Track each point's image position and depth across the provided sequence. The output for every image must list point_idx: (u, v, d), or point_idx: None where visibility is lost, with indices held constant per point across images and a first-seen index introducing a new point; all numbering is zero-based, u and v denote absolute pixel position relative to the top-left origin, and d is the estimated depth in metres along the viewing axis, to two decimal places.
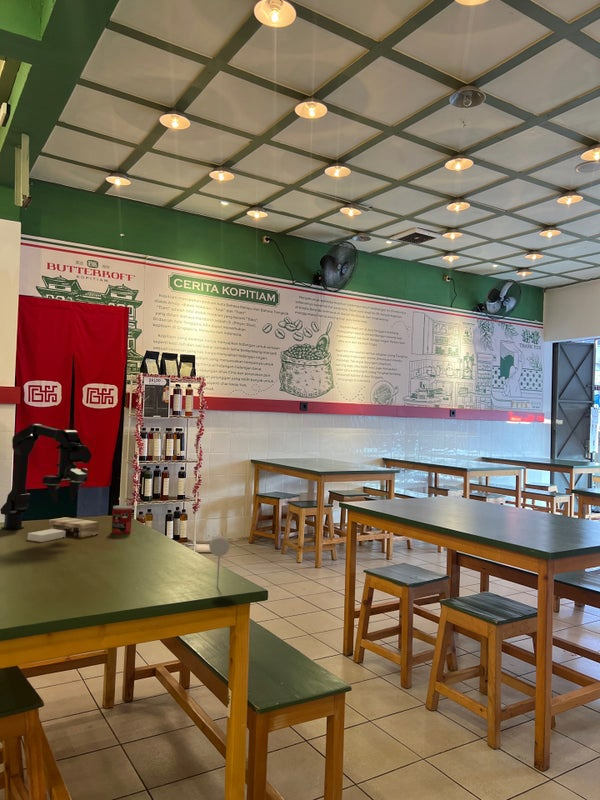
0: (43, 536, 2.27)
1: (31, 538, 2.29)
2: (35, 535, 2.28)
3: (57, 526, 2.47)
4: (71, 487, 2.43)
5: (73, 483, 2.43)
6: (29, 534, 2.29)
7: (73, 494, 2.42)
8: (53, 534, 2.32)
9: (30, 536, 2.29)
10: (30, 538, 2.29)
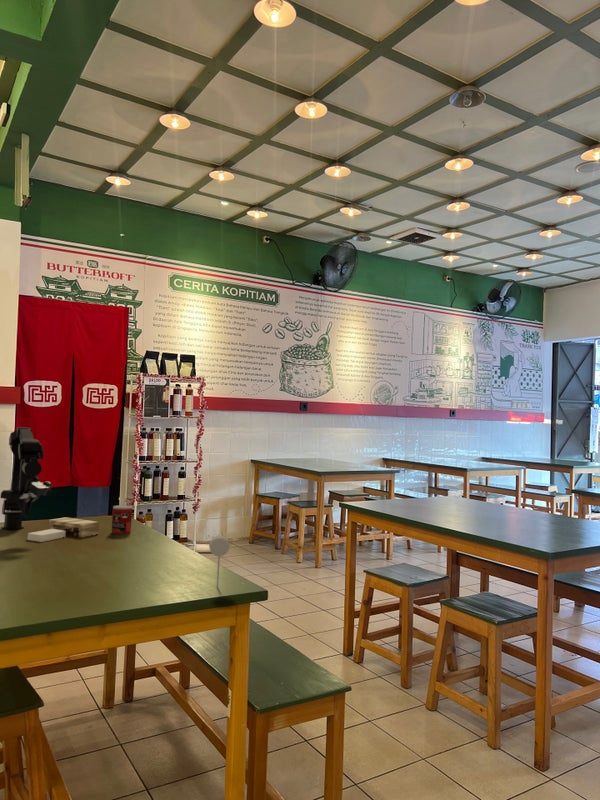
0: (43, 536, 2.27)
1: (31, 538, 2.29)
2: (35, 535, 2.28)
3: (57, 526, 2.47)
4: None
5: None
6: (29, 534, 2.29)
7: None
8: (53, 534, 2.32)
9: (30, 536, 2.29)
10: (30, 538, 2.29)
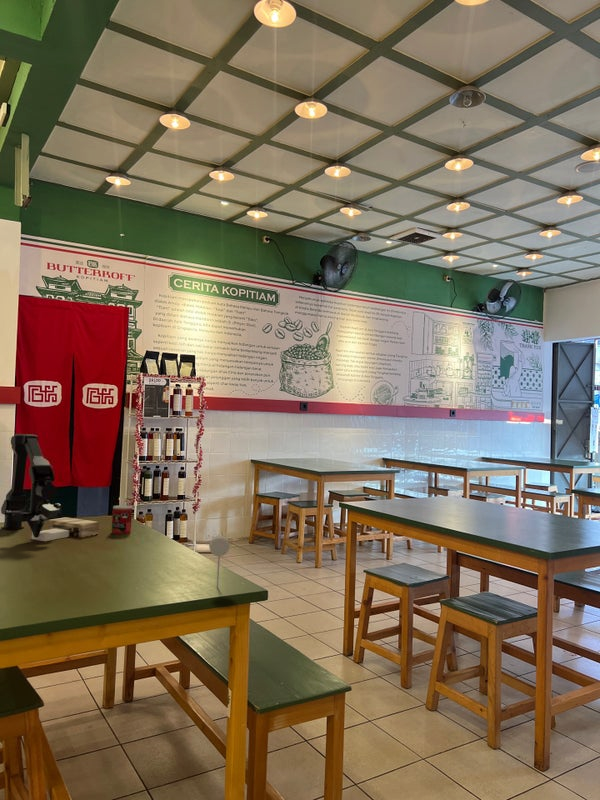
0: (47, 535, 2.29)
1: None
2: (39, 534, 2.29)
3: (57, 526, 2.47)
4: None
5: None
6: None
7: None
8: (57, 533, 2.33)
9: None
10: (34, 537, 2.30)
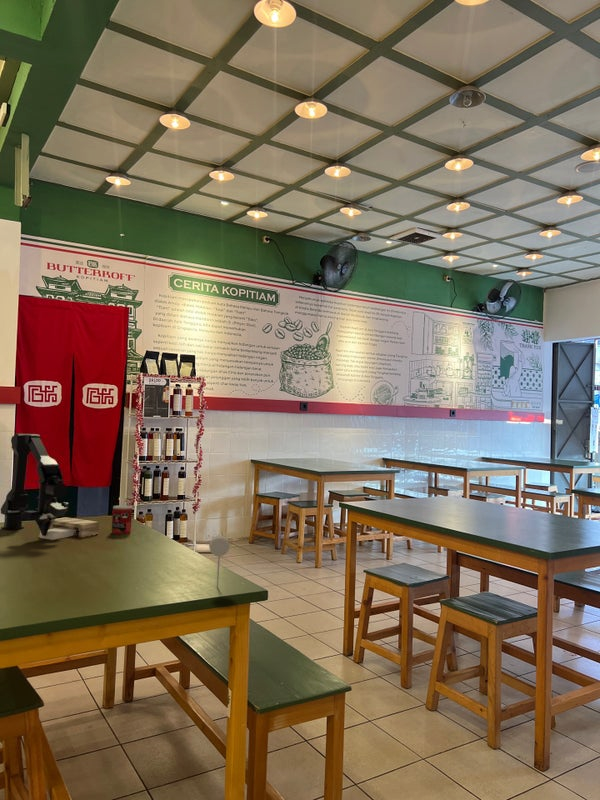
0: (55, 534, 2.32)
1: (43, 536, 2.33)
2: (47, 533, 2.33)
3: (57, 526, 2.47)
4: None
5: None
6: None
7: None
8: (64, 532, 2.37)
9: None
10: (42, 536, 2.34)
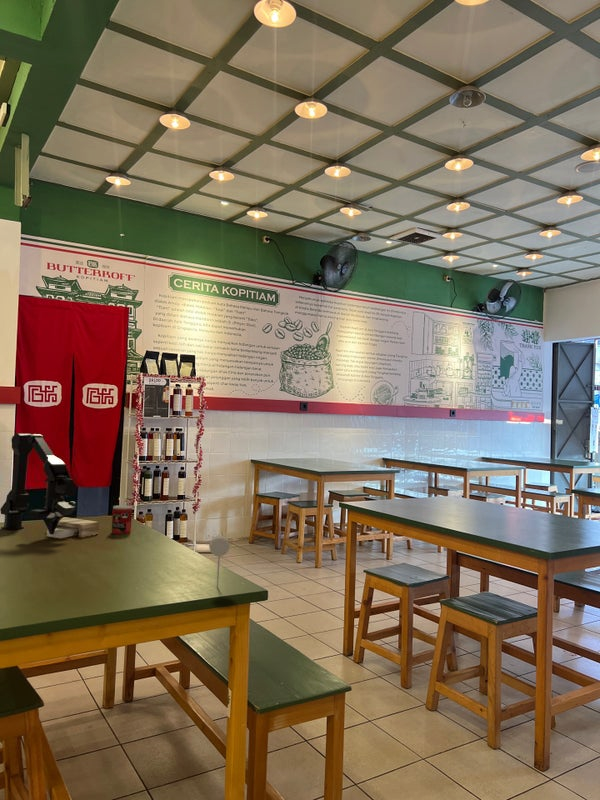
0: (62, 533, 2.36)
1: (50, 534, 2.37)
2: (54, 532, 2.36)
3: (57, 526, 2.47)
4: None
5: None
6: (48, 531, 2.37)
7: None
8: (71, 531, 2.40)
9: (49, 533, 2.37)
10: (49, 534, 2.37)
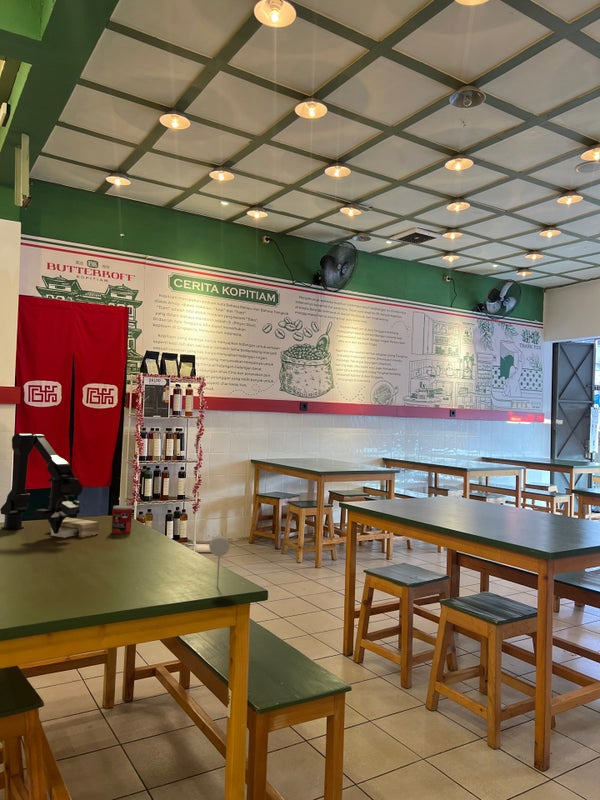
0: (66, 532, 2.38)
1: (54, 534, 2.39)
2: (58, 531, 2.38)
3: None
4: None
5: None
6: (52, 530, 2.39)
7: None
8: (75, 530, 2.42)
9: (53, 532, 2.39)
10: (53, 534, 2.39)
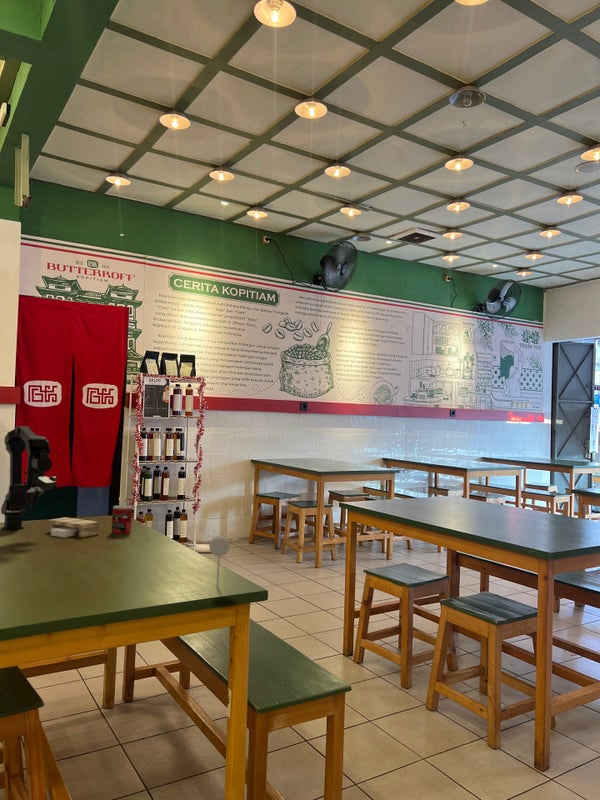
0: (66, 532, 2.38)
1: (54, 534, 2.39)
2: (58, 531, 2.38)
3: (57, 526, 2.47)
4: None
5: None
6: (52, 530, 2.39)
7: None
8: (75, 530, 2.42)
9: (53, 532, 2.39)
10: (53, 534, 2.39)
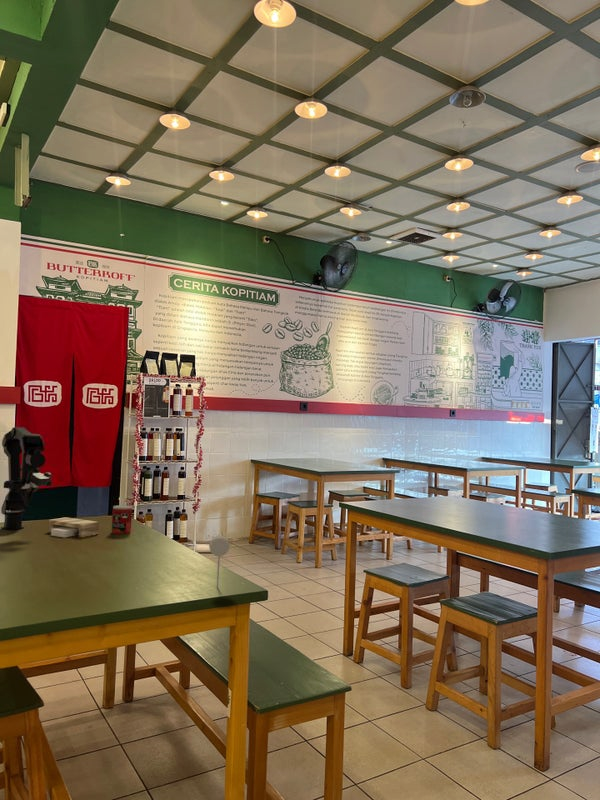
0: (66, 532, 2.38)
1: (54, 534, 2.39)
2: (58, 531, 2.38)
3: (57, 526, 2.47)
4: None
5: None
6: (52, 530, 2.39)
7: None
8: (75, 530, 2.42)
9: (53, 532, 2.39)
10: (53, 534, 2.39)
